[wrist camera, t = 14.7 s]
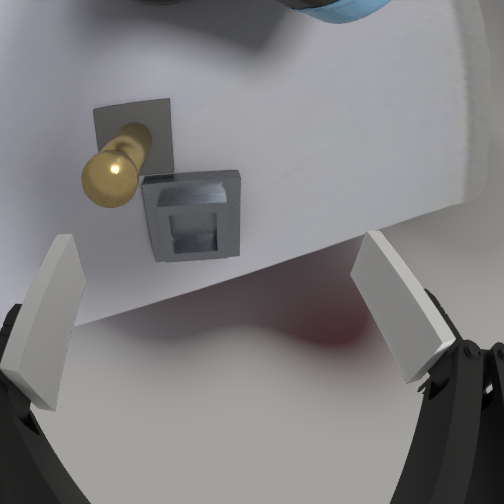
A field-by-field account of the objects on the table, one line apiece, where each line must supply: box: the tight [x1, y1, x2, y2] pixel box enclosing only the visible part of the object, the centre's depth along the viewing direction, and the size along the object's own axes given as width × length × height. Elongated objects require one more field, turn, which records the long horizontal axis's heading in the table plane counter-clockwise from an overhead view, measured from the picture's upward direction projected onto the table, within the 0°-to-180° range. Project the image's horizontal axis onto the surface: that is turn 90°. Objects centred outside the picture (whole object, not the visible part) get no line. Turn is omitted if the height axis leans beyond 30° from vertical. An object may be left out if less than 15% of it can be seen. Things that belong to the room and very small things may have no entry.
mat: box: [93, 98, 174, 175], centre depth 38 cm, size 11×11×1 cm
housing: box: [142, 170, 241, 262], centre depth 45 cm, size 14×14×6 cm
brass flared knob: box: [82, 122, 152, 208], centre depth 32 cm, size 6×6×14 cm
